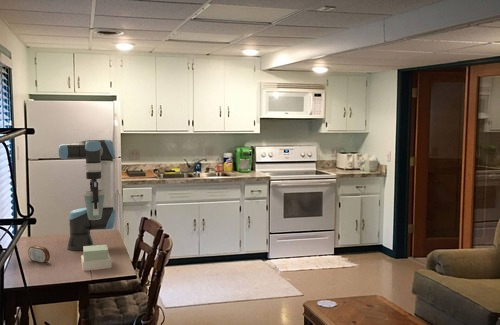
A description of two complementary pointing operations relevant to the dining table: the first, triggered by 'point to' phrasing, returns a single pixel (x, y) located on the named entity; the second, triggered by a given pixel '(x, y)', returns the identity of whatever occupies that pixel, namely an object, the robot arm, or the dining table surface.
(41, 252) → the tin
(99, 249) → the top block
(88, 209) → the disposable coffee cup
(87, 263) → the base block
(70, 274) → the dining table surface
